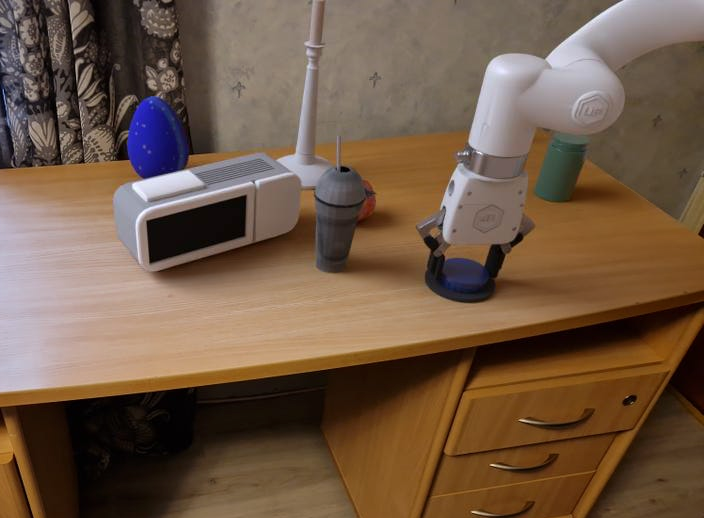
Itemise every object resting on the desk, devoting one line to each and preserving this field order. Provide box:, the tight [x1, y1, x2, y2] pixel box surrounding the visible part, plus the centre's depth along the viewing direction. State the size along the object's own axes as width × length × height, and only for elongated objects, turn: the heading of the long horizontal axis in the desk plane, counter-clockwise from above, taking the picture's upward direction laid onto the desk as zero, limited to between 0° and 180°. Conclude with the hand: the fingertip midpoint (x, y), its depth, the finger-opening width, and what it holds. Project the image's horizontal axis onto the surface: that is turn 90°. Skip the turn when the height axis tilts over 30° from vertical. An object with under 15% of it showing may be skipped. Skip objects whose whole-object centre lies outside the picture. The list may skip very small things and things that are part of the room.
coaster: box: [424, 268, 497, 304], centre depth 99 cm, size 10×10×1 cm
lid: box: [439, 257, 489, 293], centre depth 98 cm, size 7×7×2 cm
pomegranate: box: [357, 179, 378, 222], centre depth 112 cm, size 7×7×10 cm
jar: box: [532, 131, 591, 203], centre depth 118 cm, size 6×6×10 cm
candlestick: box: [275, 0, 336, 191], centre depth 117 cm, size 13×13×30 cm
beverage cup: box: [313, 133, 366, 274], centre depth 96 cm, size 7×7×20 cm
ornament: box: [126, 95, 190, 180], centre depth 119 cm, size 11×9×15 cm
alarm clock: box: [112, 151, 302, 272], centre depth 103 cm, size 27×9×12 cm, turn 119°
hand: (462, 273), depth 99 cm, fingers open, 7 cm apart
